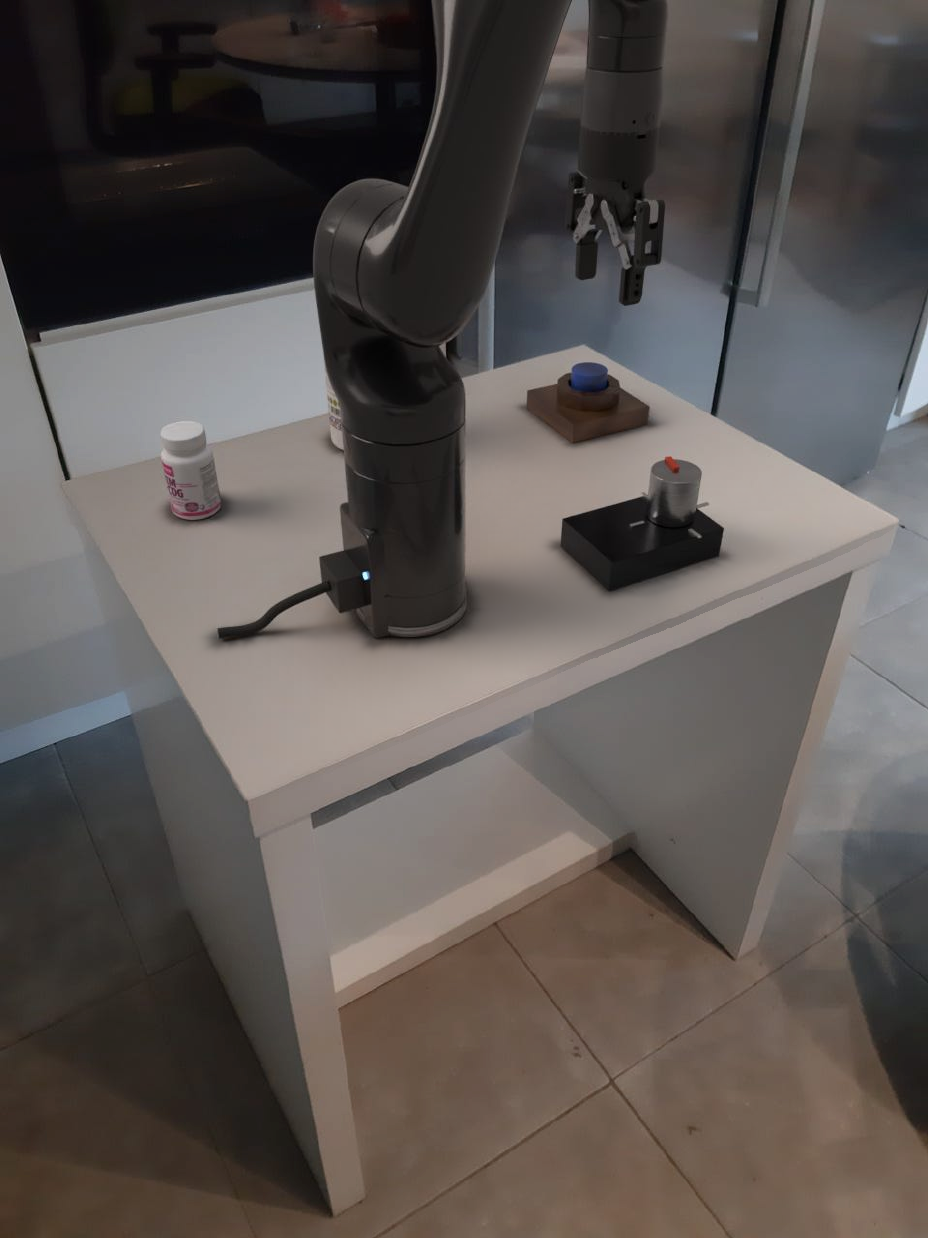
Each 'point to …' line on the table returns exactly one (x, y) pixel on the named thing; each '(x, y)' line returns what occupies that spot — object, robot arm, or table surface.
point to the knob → (673, 492)
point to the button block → (587, 409)
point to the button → (589, 377)
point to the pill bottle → (189, 471)
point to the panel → (636, 542)
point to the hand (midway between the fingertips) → (606, 290)
